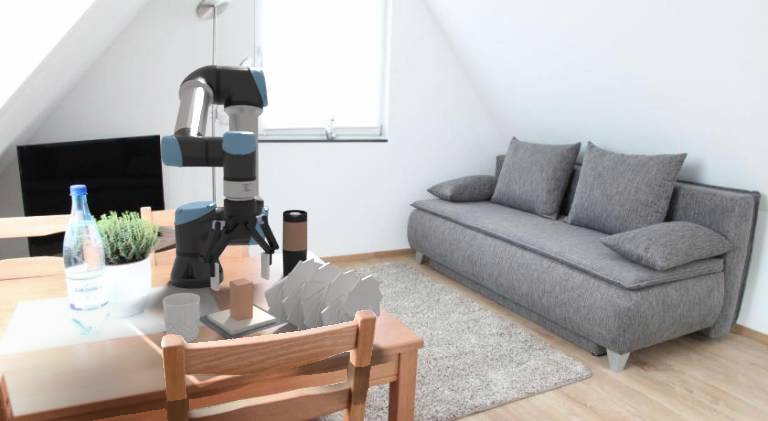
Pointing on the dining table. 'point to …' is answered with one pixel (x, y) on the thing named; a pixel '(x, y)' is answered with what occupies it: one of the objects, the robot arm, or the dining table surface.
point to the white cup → (182, 315)
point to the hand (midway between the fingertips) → (241, 283)
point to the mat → (229, 336)
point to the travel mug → (294, 239)
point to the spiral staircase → (321, 296)
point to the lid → (241, 310)
